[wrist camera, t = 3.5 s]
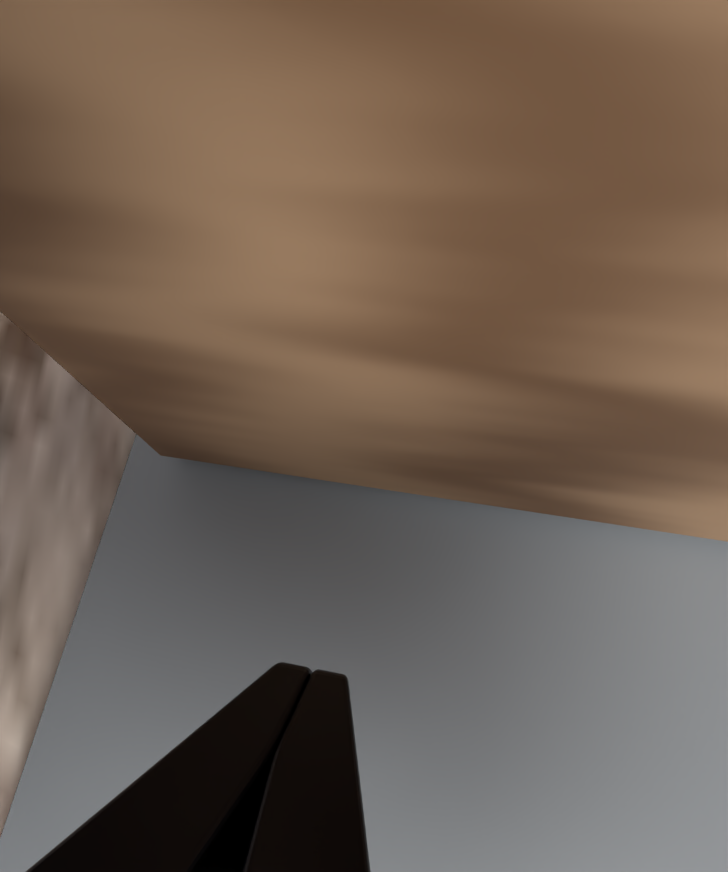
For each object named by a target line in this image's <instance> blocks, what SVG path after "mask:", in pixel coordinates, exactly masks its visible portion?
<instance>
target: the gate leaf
mask: <svg viewBox="0 0 728 872" xmlns="http://www.w3.org/2000/svg"><path fill="white" fill-rule="evenodd" d="M0 311H1V312H2V313H3V314H4V315H5V316H6V317H7V318H9V319H10V320H11V321H12V322H13V323H14V324H15V325H16V326H17V327H19V328H20V329H21V330H22V331H23V332H24V333H25V334H26V335H27V336H29V337H30V338H31V339H32V340H33V341H34V342H35V343H36V344H37V345H38V346H40V347H41V348H42V349H43V350H44V351H45V352H46V353H47V354H48V355H50V356H51V357H52V358H53V359H54V360H55V361H56V362H57V363H58V364H60V365H61V366H62V367H63V368H64V369H65V370H66V371H67V372H68V373H70V374H71V375H72V376H73V377H74V378H75V379H76V380H77V381H78V382H80V383H81V384H82V385H83V386H84V387H85V388H86V389H87V390H88V391H90V392H91V393H92V394H93V395H94V396H95V397H96V398H97V399H98V400H99V401H101V402H102V403H103V404H104V405H105V406H106V407H107V408H108V409H109V410H111V411H112V412H113V413H114V414H115V415H116V416H117V417H118V418H119V419H121V420H122V421H123V422H124V423H125V424H126V425H127V426H128V427H129V428H131V429H132V430H133V431H134V432H135V433H136V434H137V435H138V436H139V437H141V438H142V439H143V440H144V441H145V442H146V443H147V444H148V445H149V446H150V447H152V448H153V449H154V450H155V451H156V452H157V453H158V454H159V455H160V456H167V457H173V458H180V459H187V460H193V461H200V462H206V463H213V464H220V465H226V466H233V467H239V468H246V469H252V470H259V471H266V472H272V473H279V474H285V475H292V476H299V477H305V478H312V479H318V480H325V481H332V482H338V483H345V484H351V485H358V486H364V487H371V488H378V489H384V490H391V491H397V492H404V493H411V494H417V495H424V496H430V497H437V498H444V499H450V500H457V501H463V502H470V503H476V504H483V505H490V506H496V507H503V508H509V509H516V510H523V511H529V512H536V513H542V514H549V515H556V516H562V517H569V518H575V519H582V520H588V521H595V522H602V523H608V524H615V525H621V526H628V527H635V528H641V529H648V530H654V531H661V532H667V533H674V534H681V535H687V536H694V537H700V538H707V539H714V540H720V541H727V542H728V0H0Z"/></svg>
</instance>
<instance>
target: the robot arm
mask: <svg viewBox="0 0 728 872" xmlns="http://www.w3.org/2000/svg"><path fill="white" fill-rule="evenodd" d="M26 872H371V871H370V862H369V853H368V845H367V836H366V828H365V819H364V810H363V802H362V793H361V785H360V776H359V767H358V759H357V750H356V741H355V733H354V724H353V716H352V707H351V698H350V690H349V682H348V678H347V676H346V675H344V674H340V673H336V672H331V671H326V670H321V669H317V670H315V671H313V672H312V670H311V669H310V668H308V667H305V666H300V665H295V664H290V663H285V662H279V663H277V664H275V665H274V666H272V667H271V668H270V669H269V670H267V671H266V672H265V673H264V674H263V675H261V676H260V677H259V678H258V679H257V680H255V681H254V682H253V683H252V684H251V685H249V686H248V687H247V688H246V689H245V690H243V691H242V692H241V693H240V694H239V695H237V696H236V697H235V698H234V699H233V700H231V701H230V702H229V703H228V704H227V705H225V706H224V707H223V708H222V709H221V710H219V711H218V712H217V713H216V714H214V715H213V716H212V717H211V718H210V719H208V720H207V721H206V722H205V723H204V724H202V725H201V726H200V727H199V728H198V729H196V730H195V731H194V732H193V733H192V734H190V735H189V736H188V737H187V738H186V739H184V740H183V741H182V742H181V743H180V744H178V745H177V746H176V747H175V748H174V749H172V750H171V751H170V752H169V753H168V754H166V755H165V756H164V757H163V758H162V759H160V760H159V761H158V762H157V763H156V764H154V765H153V766H152V767H151V768H150V769H148V770H147V771H146V772H145V773H143V774H142V775H141V776H140V777H139V778H137V779H136V780H135V781H134V782H133V783H131V784H130V785H129V786H128V787H127V788H125V789H124V790H123V791H122V792H121V793H119V794H118V795H117V796H116V797H115V798H113V799H112V800H111V801H110V802H109V803H107V804H106V805H105V806H104V807H103V808H101V809H100V810H99V811H98V812H97V813H95V814H94V815H93V816H92V817H91V818H89V819H88V820H87V821H86V822H85V823H83V824H82V825H81V826H80V827H78V828H77V829H76V830H75V831H74V832H72V833H71V834H70V835H69V836H68V837H66V838H65V839H64V840H63V841H62V842H60V843H59V844H58V845H57V846H56V847H54V848H53V849H52V850H51V851H50V852H48V853H47V854H46V855H45V856H44V857H42V858H41V859H40V860H39V861H38V862H36V863H35V864H34V865H33V866H32V867H30V868H29V869H28V870H27V871H26Z"/></svg>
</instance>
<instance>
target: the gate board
mask: <svg viewBox="0 0 728 872" xmlns="http://www.w3.org/2000/svg"><path fill="white" fill-rule="evenodd" d="M279 662H285V663H290V664H295V665H300V666H305V667H308V668H310V669H311V670H312V672H313V671H315V670H317V669H321V670H326V671H331V672H336V673H340V674H344V675H346V676H347V678H348V682H349V690H350V698H351V707H352V716H353V724H354V733H355V741H356V750H357V759H358V767H359V776H360V785H361V793H362V802H363V810H364V819H365V828H366V836H367V845H368V853H369V862H370V871H371V872H728V542H727V541H720V540H714V539H707V538H700V537H694V536H687V535H681V534H674V533H667V532H661V531H654V530H648V529H641V528H635V527H628V526H621V525H615V524H608V523H602V522H595V521H588V520H582V519H575V518H569V517H562V516H556V515H549V514H542V513H536V512H529V511H523V510H516V509H509V508H503V507H496V506H490V505H483V504H476V503H470V502H463V501H457V500H450V499H444V498H437V497H430V496H424V495H417V494H411V493H404V492H397V491H391V490H384V489H378V488H371V487H364V486H358V485H351V484H345V483H338V482H332V481H325V480H318V479H312V478H305V477H299V476H292V475H285V474H279V473H272V472H266V471H259V470H252V469H246V468H239V467H233V466H226V465H220V464H213V463H206V462H200V461H193V460H187V459H180V458H173V457H167V456H160V455H159V454H158V453H157V452H156V451H155V450H154V449H153V448H152V447H150V446H149V445H148V444H147V443H146V442H145V441H144V440H143V439H142V438H141V437H139V436H138V435H137V434H136V437H135V440H134V443H133V446H132V449H131V452H130V455H129V457H128V460H127V463H126V466H125V469H124V472H123V475H122V478H121V481H120V484H119V487H118V490H117V493H116V496H115V499H114V502H113V505H112V508H111V511H110V514H109V517H108V520H107V523H106V526H105V529H104V532H103V535H102V538H101V541H100V544H99V547H98V550H97V552H96V555H95V558H94V561H93V564H92V567H91V570H90V573H89V576H88V579H87V582H86V585H85V588H84V591H83V594H82V597H81V600H80V603H79V606H78V609H77V612H76V615H75V618H74V621H73V624H72V627H71V630H70V633H69V636H68V639H67V642H66V645H65V647H64V650H63V653H62V656H61V659H60V662H59V665H58V668H57V671H56V674H55V677H54V680H53V683H52V686H51V689H50V692H49V695H48V698H47V701H46V704H45V707H44V710H43V713H42V716H41V719H40V722H39V725H38V728H37V731H36V734H35V737H34V739H33V742H32V745H31V748H30V751H29V754H28V757H27V760H26V763H25V766H24V769H23V772H22V775H21V778H20V781H19V784H18V787H17V790H16V793H15V796H14V799H13V802H12V805H11V808H10V811H9V814H8V817H7V820H6V823H5V826H4V829H3V832H2V834H1V837H0V872H26V871H27V870H28V869H29V868H30V867H32V866H33V865H34V864H35V863H36V862H38V861H39V860H40V859H41V858H42V857H44V856H45V855H46V854H47V853H48V852H50V851H51V850H52V849H53V848H54V847H56V846H57V845H58V844H59V843H60V842H62V841H63V840H64V839H65V838H66V837H68V836H69V835H70V834H71V833H72V832H74V831H75V830H76V829H77V828H78V827H80V826H81V825H82V824H83V823H85V822H86V821H87V820H88V819H89V818H91V817H92V816H93V815H94V814H95V813H97V812H98V811H99V810H100V809H101V808H103V807H104V806H105V805H106V804H107V803H109V802H110V801H111V800H112V799H113V798H115V797H116V796H117V795H118V794H119V793H121V792H122V791H123V790H124V789H125V788H127V787H128V786H129V785H130V784H131V783H133V782H134V781H135V780H136V779H137V778H139V777H140V776H141V775H142V774H143V773H145V772H146V771H147V770H148V769H150V768H151V767H152V766H153V765H154V764H156V763H157V762H158V761H159V760H160V759H162V758H163V757H164V756H165V755H166V754H168V753H169V752H170V751H171V750H172V749H174V748H175V747H176V746H177V745H178V744H180V743H181V742H182V741H183V740H184V739H186V738H187V737H188V736H189V735H190V734H192V733H193V732H194V731H195V730H196V729H198V728H199V727H200V726H201V725H202V724H204V723H205V722H206V721H207V720H208V719H210V718H211V717H212V716H213V715H214V714H216V713H217V712H218V711H219V710H221V709H222V708H223V707H224V706H225V705H227V704H228V703H229V702H230V701H231V700H233V699H234V698H235V697H236V696H237V695H239V694H240V693H241V692H242V691H243V690H245V689H246V688H247V687H248V686H249V685H251V684H252V683H253V682H254V681H255V680H257V679H258V678H259V677H260V676H261V675H263V674H264V673H265V672H266V671H267V670H269V669H270V668H271V667H272V666H274V665H275V664H277V663H279Z"/></svg>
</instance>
